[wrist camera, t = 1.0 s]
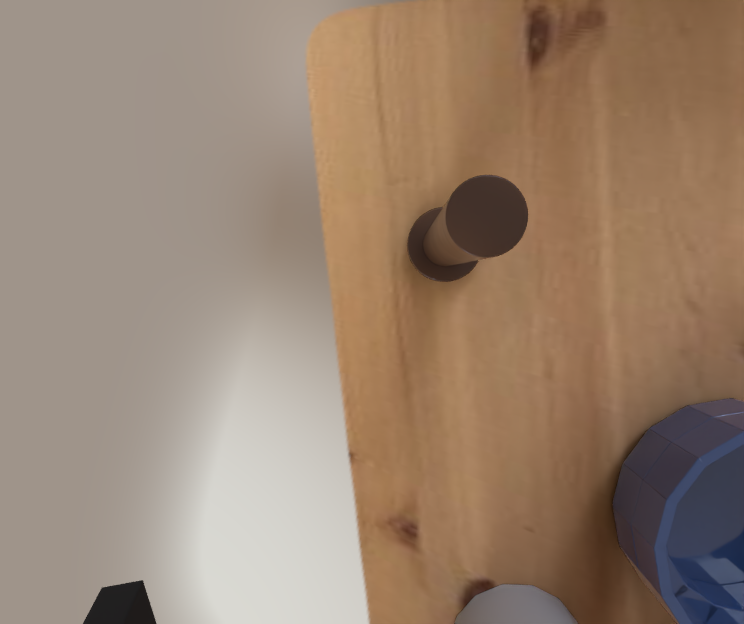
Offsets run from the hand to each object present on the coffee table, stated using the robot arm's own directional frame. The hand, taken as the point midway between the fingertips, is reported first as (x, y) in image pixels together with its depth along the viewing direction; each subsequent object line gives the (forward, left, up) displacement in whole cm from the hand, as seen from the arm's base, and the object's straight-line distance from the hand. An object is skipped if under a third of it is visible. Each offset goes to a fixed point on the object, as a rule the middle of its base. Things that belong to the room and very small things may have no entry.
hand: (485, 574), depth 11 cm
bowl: (+4, +19, -23) cm, 30 cm away
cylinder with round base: (-8, -1, -23) cm, 24 cm away
